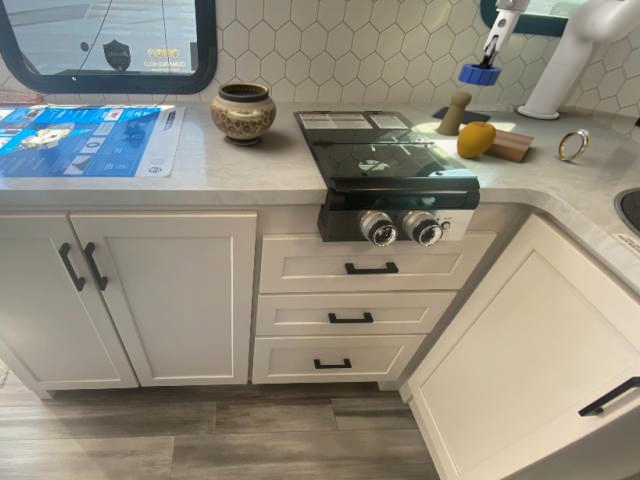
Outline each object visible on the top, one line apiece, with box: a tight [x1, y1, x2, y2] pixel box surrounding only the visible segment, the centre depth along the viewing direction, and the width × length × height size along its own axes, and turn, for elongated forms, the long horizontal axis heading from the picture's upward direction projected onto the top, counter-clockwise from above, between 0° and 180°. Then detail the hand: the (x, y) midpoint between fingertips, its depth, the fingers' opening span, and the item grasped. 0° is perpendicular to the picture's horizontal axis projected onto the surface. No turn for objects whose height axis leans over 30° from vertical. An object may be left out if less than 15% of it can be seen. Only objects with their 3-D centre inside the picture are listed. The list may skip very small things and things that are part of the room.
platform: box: [482, 128, 535, 163], centre depth 99 cm, size 14×14×3 cm
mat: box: [432, 106, 490, 126], centre depth 120 cm, size 15×15×1 cm
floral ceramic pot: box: [209, 82, 277, 146], centre depth 94 cm, size 24×18×15 cm
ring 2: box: [558, 127, 591, 161], centre depth 92 cm, size 7×3×8 cm, turn 179°
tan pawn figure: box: [436, 91, 473, 137], centre depth 105 cm, size 6×6×11 cm
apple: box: [456, 121, 497, 159], centre depth 91 cm, size 9×8×9 cm
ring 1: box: [457, 62, 503, 87], centre depth 111 cm, size 11×11×4 cm
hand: (480, 77), depth 115 cm, fingers closed on ring 1, 2 cm apart
